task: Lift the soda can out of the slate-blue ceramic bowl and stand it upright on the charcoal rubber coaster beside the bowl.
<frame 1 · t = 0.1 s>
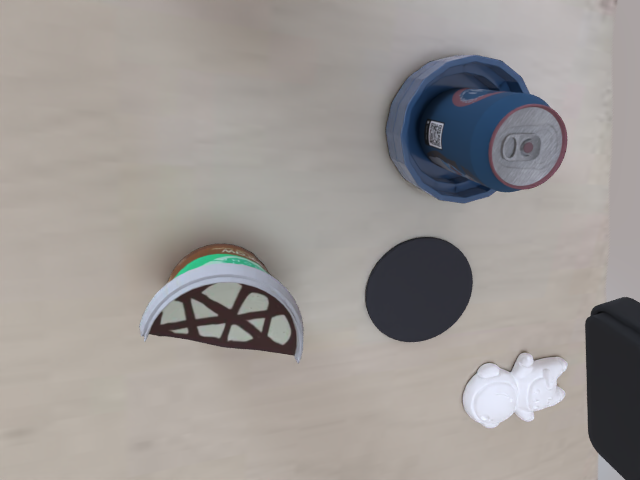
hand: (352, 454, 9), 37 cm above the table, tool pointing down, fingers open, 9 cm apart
astronaut figurine: (512, 385, 58), on the table
soda can: (449, 127, 46), resting on bowl
bowl: (448, 127, 47), on the table
coaster: (419, 290, 51), on the table
food container: (227, 263, 46), on the table
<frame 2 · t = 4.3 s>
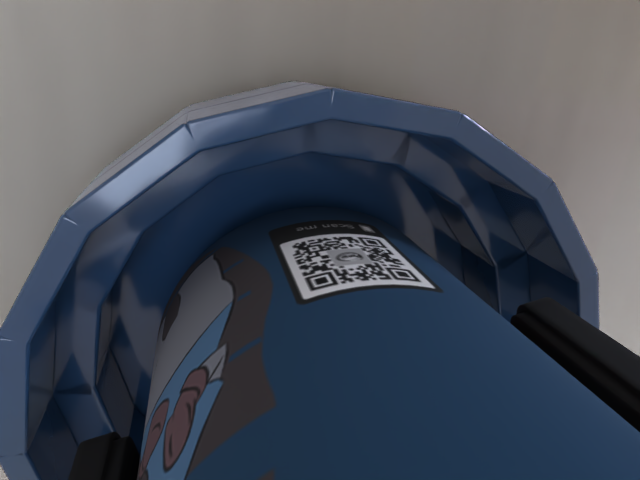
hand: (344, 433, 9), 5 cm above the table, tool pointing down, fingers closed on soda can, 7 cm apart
soda can: (299, 319, 14), resting on bowl, touching gripper
bowl: (297, 315, 14), on the table
when the fingers open (5 cm above the table, at t = 11.6 s): soda can stays where it is, resting on coaster.
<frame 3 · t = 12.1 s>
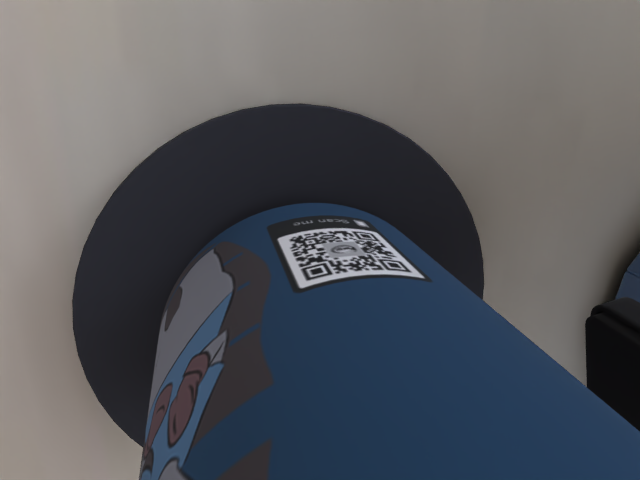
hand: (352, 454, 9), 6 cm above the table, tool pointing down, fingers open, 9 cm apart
soda can: (296, 313, 14), resting on coaster
coaster: (292, 310, 14), on the table
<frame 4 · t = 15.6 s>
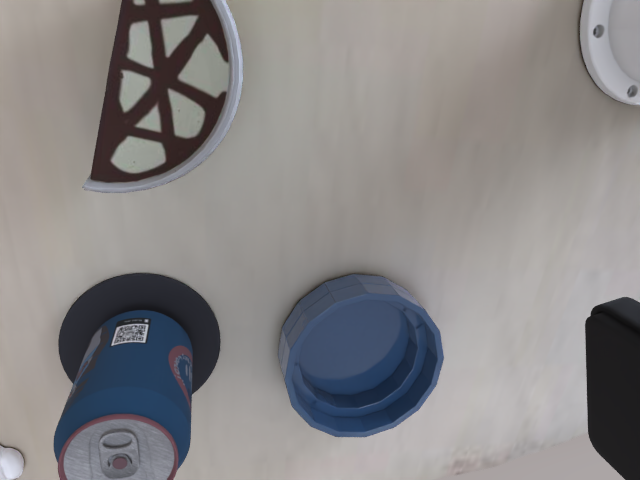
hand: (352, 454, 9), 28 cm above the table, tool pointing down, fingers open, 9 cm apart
soda can: (143, 345, 38), resting on coaster
bowl: (351, 341, 42), on the table
coaster: (142, 343, 38), on the table
food container: (182, 78, 33), on the table
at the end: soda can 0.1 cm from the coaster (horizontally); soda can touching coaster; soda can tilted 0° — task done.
